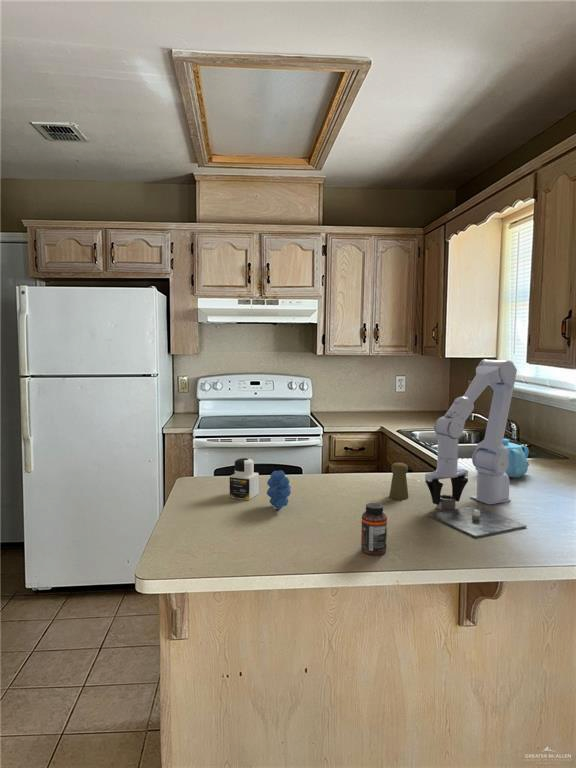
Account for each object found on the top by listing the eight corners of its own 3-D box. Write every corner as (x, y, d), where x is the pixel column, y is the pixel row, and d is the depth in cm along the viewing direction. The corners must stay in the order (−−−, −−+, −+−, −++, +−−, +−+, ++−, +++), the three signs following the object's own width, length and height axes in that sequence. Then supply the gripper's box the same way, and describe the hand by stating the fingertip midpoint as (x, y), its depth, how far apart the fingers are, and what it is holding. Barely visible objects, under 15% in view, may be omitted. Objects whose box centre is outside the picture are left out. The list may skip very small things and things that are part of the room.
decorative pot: (472, 475, 191) (473, 439, 189) (491, 467, 202) (492, 433, 200) (516, 484, 179) (518, 445, 178) (534, 475, 190) (535, 439, 189)
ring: (446, 504, 156) (447, 493, 156) (458, 510, 151) (459, 498, 151) (433, 507, 154) (433, 495, 153) (445, 512, 149) (445, 500, 149)
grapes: (301, 512, 149) (301, 471, 148) (281, 516, 145) (281, 475, 144) (281, 501, 159) (281, 463, 158) (262, 505, 155) (261, 466, 154)
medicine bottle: (229, 497, 162) (228, 460, 161) (239, 491, 169) (239, 456, 168) (249, 500, 160) (249, 462, 159) (259, 494, 166) (259, 458, 165)
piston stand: (476, 507, 153) (476, 497, 153) (526, 527, 137) (526, 516, 137) (428, 515, 146) (428, 505, 146) (475, 538, 130) (475, 526, 129)
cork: (408, 500, 160) (409, 466, 159) (389, 499, 161) (389, 465, 160) (408, 494, 166) (409, 461, 165) (389, 493, 167) (390, 460, 166)
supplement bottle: (358, 546, 125) (359, 501, 124) (382, 545, 125) (383, 500, 124) (364, 556, 119) (365, 509, 118) (389, 555, 119) (390, 508, 118)
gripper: (456, 452, 158) (455, 495, 159) (419, 456, 152) (417, 501, 153) (473, 457, 151) (472, 502, 152) (435, 461, 145) (433, 508, 146)
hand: (446, 502), depth 152 cm, fingers open, 7 cm apart
